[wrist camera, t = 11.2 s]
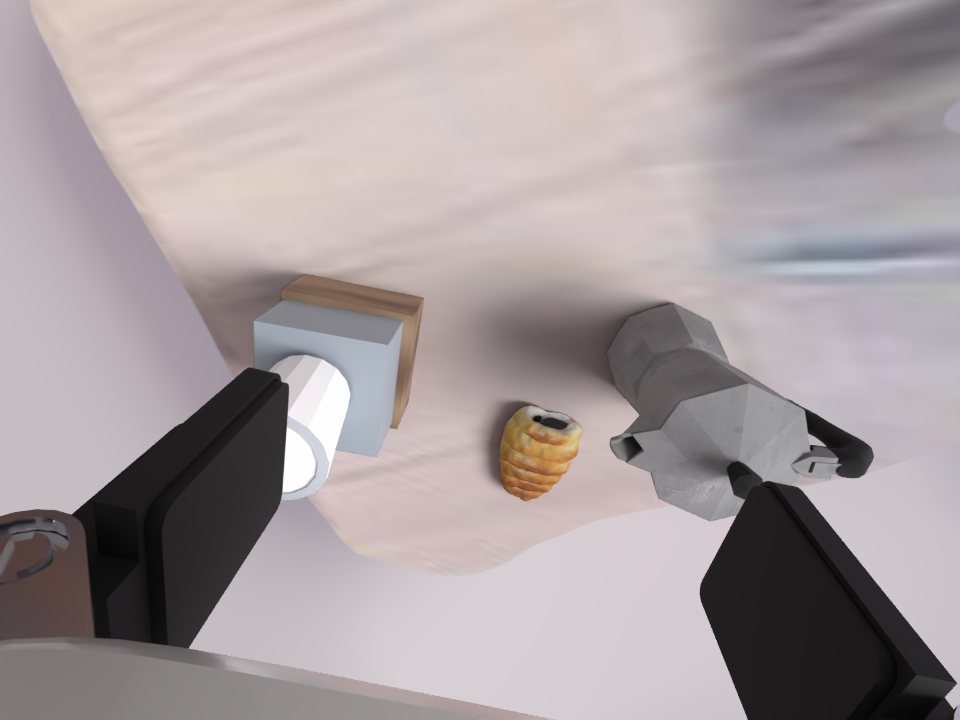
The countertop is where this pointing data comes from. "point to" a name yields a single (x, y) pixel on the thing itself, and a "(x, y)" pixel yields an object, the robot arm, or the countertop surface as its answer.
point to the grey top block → (340, 361)
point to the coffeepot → (713, 419)
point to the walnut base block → (374, 304)
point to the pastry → (536, 451)
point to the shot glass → (311, 421)
